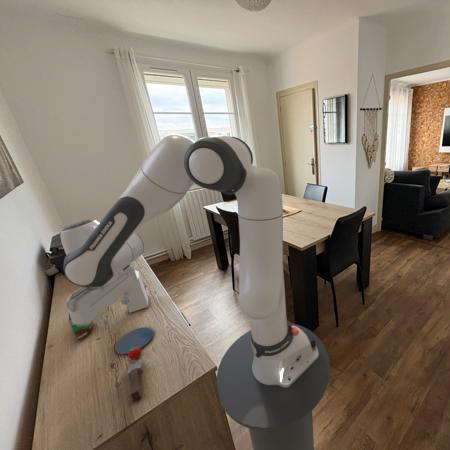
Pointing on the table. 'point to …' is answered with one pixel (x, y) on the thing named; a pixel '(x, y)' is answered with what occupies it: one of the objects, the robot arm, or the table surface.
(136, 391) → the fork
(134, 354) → the strawberry
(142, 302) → the milk carton
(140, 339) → the plate
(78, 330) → the food container
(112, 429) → the table surface
